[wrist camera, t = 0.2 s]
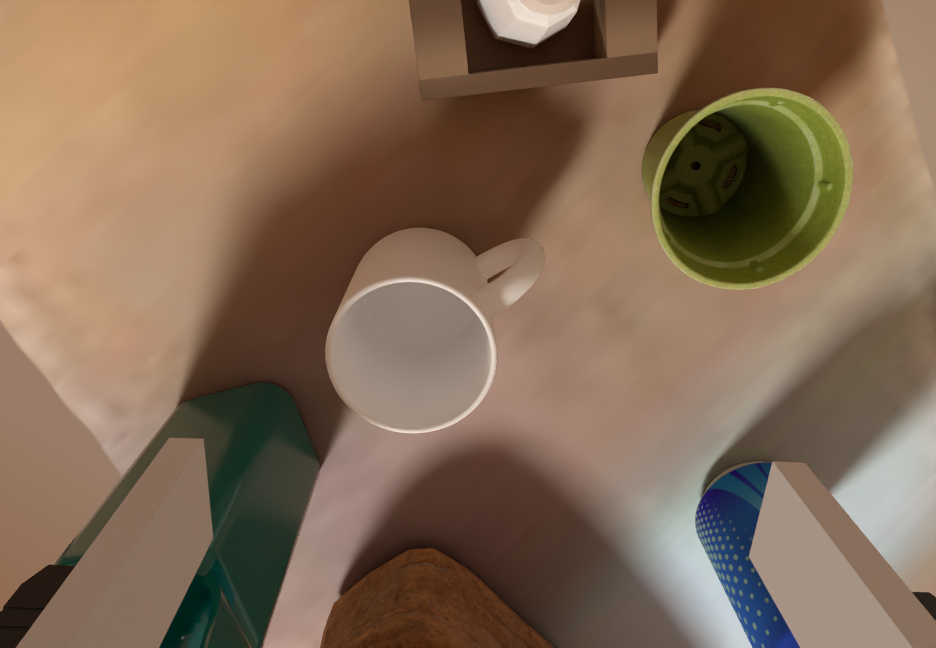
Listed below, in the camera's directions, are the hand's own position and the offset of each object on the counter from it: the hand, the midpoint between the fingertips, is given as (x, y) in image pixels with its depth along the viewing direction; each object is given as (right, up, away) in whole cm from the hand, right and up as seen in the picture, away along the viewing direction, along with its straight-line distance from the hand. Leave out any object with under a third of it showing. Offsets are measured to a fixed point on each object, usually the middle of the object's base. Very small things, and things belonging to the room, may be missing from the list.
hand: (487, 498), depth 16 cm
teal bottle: (-15, -4, +31) cm, 34 cm away
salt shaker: (+3, +22, +21) cm, 30 cm away
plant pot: (+13, +13, +25) cm, 31 cm away
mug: (-2, +7, +27) cm, 28 cm away
